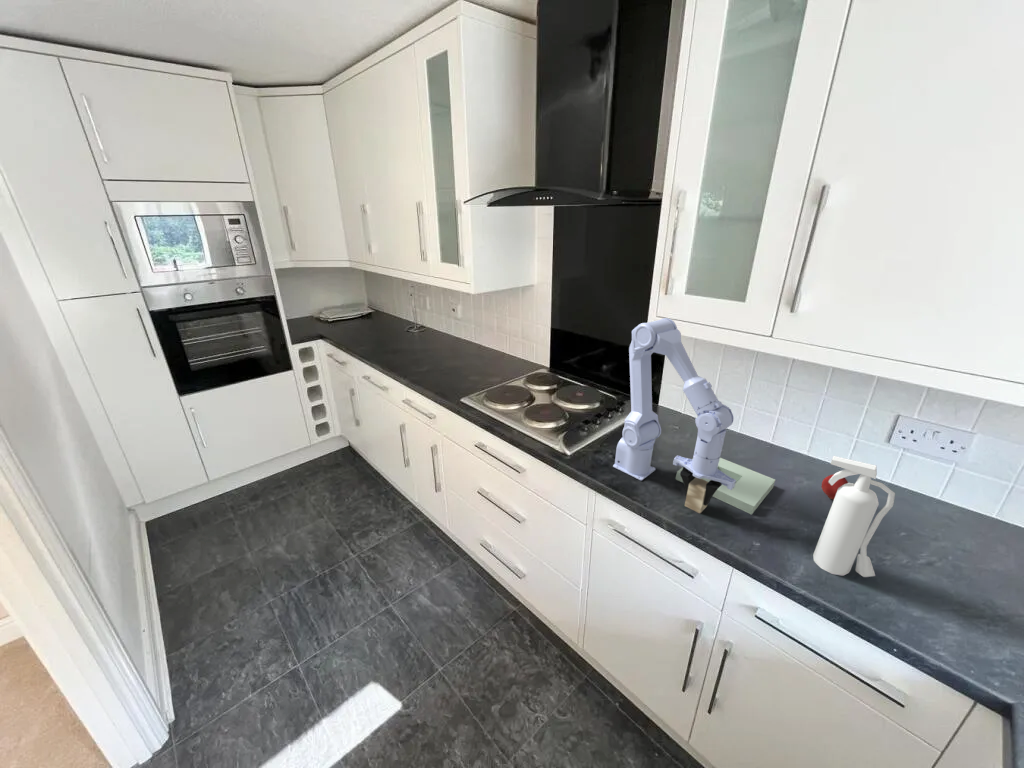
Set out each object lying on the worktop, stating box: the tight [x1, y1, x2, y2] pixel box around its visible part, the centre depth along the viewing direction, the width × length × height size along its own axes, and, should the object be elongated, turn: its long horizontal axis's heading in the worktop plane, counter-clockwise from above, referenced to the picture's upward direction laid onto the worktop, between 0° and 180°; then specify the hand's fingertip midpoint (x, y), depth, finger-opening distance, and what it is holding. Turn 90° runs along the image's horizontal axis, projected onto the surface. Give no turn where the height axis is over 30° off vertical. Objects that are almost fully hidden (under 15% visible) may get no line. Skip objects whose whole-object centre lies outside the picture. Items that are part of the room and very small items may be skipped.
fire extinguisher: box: [812, 455, 896, 578], centre depth 85 cm, size 7×12×25 cm, turn 44°
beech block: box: [684, 478, 708, 514], centre depth 106 cm, size 4×4×7 cm
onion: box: [821, 473, 849, 500], centre depth 109 cm, size 6×6×8 cm
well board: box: [675, 457, 776, 515], centre depth 116 cm, size 20×16×2 cm
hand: (697, 499), depth 107 cm, fingers closed on beech block, 4 cm apart
